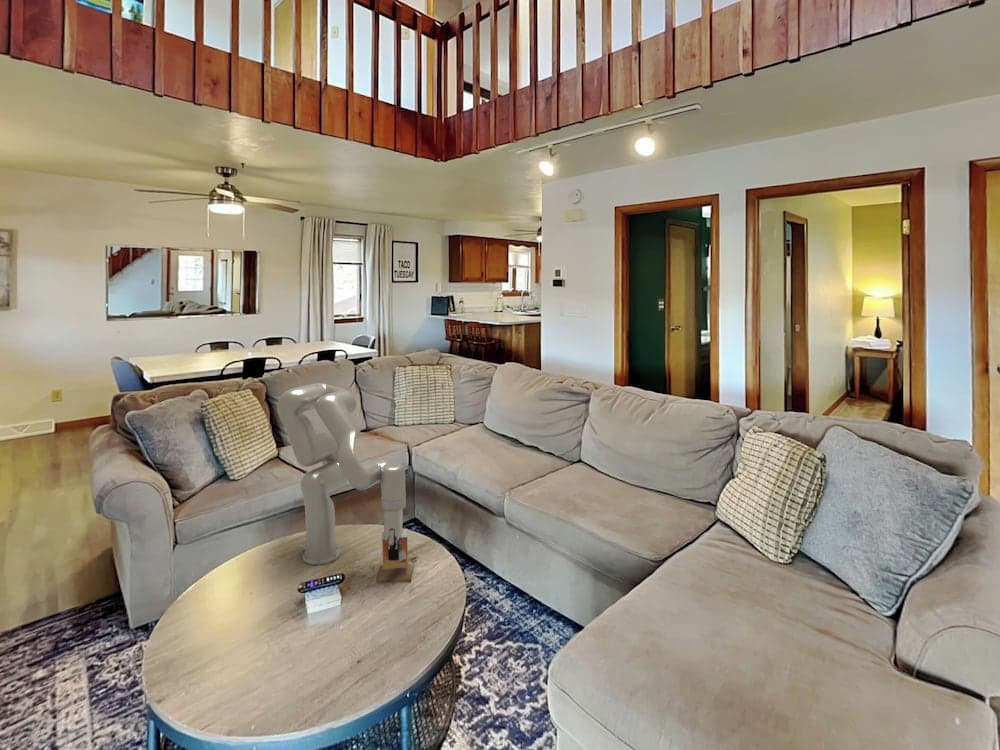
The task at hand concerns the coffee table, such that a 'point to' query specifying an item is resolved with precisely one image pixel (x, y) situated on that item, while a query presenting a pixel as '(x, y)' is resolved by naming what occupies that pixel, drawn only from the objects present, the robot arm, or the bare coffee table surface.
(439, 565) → the coffee table surface
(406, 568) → the walnut coaster board
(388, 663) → the coffee table surface
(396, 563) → the small box
